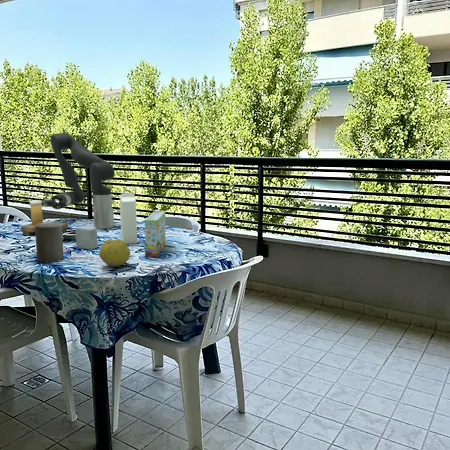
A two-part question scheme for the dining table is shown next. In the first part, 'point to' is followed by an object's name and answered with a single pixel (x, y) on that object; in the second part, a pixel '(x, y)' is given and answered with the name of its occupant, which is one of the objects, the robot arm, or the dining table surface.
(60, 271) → the dining table surface
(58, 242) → the pillar candle
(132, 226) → the milk
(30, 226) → the walnut stand
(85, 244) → the medicine box
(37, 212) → the beer glass
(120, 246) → the fruit
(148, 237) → the snack box
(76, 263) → the dining table surface
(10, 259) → the dining table surface
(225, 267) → the dining table surface
